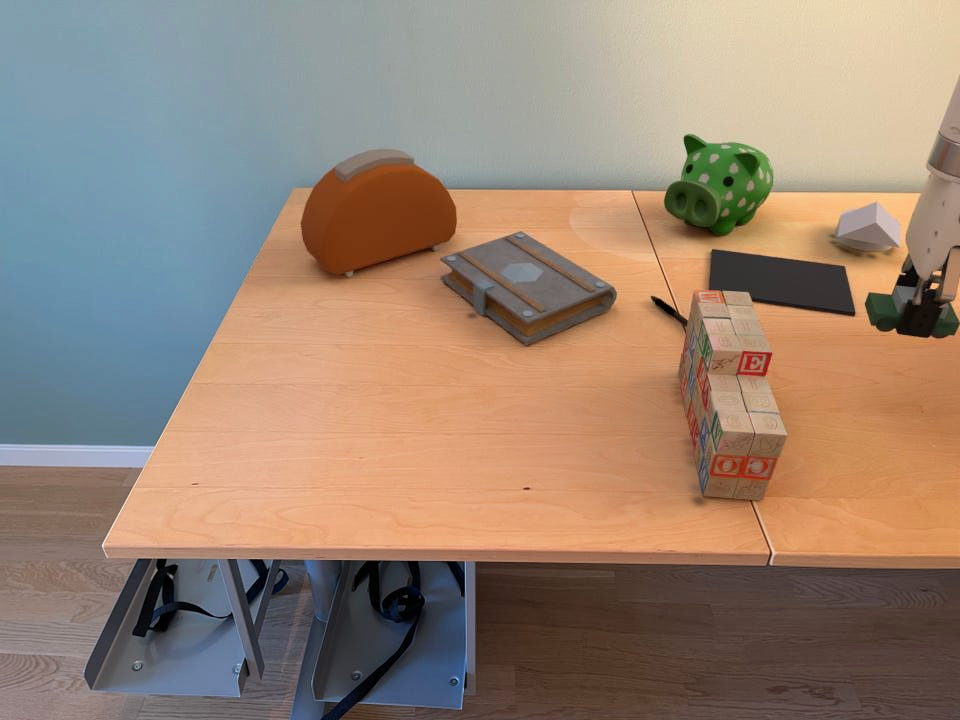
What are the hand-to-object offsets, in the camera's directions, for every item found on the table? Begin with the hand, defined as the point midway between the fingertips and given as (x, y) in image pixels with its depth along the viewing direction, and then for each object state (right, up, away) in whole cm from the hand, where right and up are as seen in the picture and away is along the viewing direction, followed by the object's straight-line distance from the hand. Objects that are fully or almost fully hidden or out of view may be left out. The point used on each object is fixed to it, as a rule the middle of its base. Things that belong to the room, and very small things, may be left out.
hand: (908, 319), depth 75 cm
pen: (-18, +1, +22) cm, 28 cm away
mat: (-1, +8, +31) cm, 32 cm away
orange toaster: (-62, +13, +38) cm, 74 cm away
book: (-40, +5, +28) cm, 49 cm away
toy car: (+1, +2, +1) cm, 3 cm away
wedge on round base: (+17, +15, +41) cm, 47 cm away
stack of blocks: (-19, -12, +5) cm, 23 cm away
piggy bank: (-5, +20, +47) cm, 51 cm away
